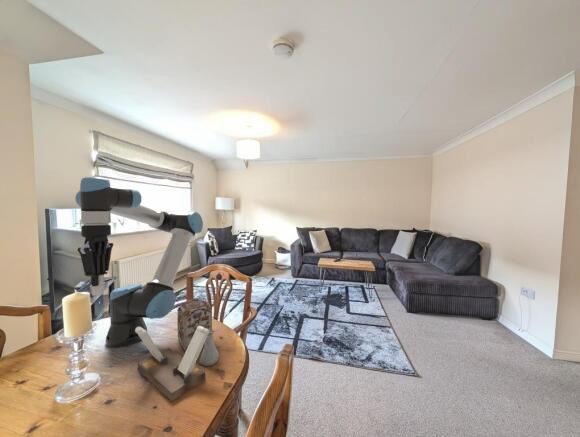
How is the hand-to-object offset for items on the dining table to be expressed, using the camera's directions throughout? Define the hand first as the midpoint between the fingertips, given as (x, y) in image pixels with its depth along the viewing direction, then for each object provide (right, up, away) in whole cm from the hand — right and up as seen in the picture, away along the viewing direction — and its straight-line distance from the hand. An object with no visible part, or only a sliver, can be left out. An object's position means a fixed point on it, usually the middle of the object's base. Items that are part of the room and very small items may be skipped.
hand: (98, 294), depth 76 cm
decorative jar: (+23, -28, +23) cm, 43 cm away
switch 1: (+17, -26, +6) cm, 31 cm away
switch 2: (+29, -26, -2) cm, 39 cm away
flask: (+34, -28, +9) cm, 45 cm away
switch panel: (+23, -28, +2) cm, 37 cm away
